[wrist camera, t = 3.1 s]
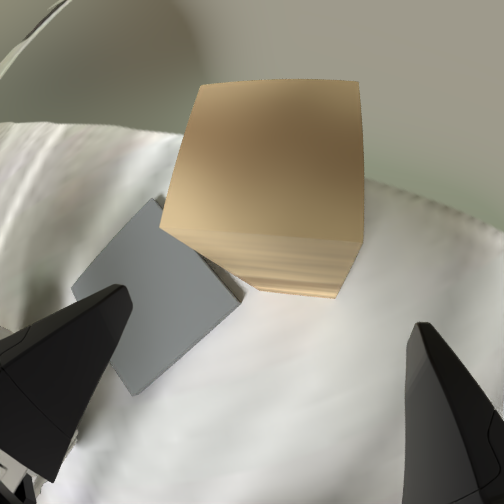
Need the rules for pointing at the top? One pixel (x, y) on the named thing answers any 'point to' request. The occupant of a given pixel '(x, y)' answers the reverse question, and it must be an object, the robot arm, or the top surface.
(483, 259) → the top surface
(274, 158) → the oak block
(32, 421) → the robot arm
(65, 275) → the top surface
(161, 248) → the rubber mat
